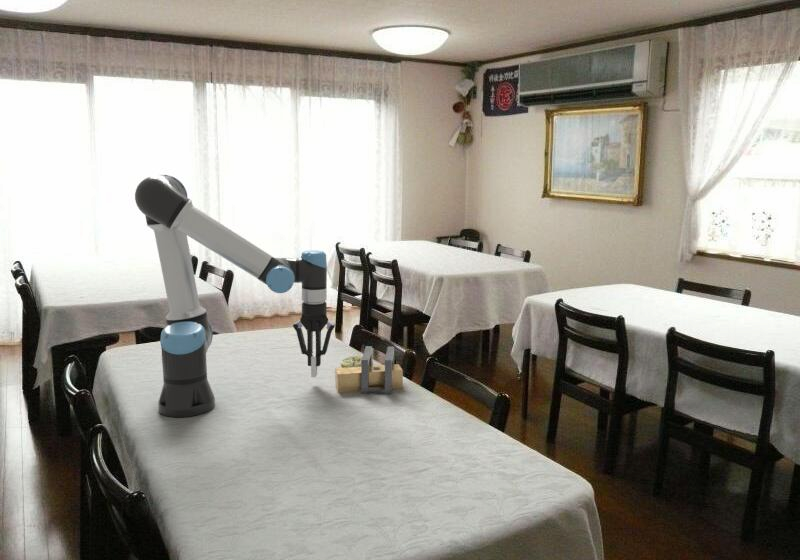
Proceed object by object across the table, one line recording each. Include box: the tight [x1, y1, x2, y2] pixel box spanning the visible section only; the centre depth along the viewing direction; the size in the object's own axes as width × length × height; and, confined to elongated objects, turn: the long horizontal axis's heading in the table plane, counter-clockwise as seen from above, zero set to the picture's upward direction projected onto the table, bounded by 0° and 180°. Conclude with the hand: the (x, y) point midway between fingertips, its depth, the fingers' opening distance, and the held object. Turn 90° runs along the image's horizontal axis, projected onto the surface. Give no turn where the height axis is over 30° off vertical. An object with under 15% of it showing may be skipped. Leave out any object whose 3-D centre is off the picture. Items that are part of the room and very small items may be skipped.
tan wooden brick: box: [334, 363, 404, 393], centre depth 201 cm, size 20×6×6 cm, turn 103°
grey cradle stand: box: [361, 345, 395, 395], centre depth 202 cm, size 14×9×10 cm, turn 178°
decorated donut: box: [340, 354, 374, 368], centre depth 219 cm, size 10×11×4 cm
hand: (314, 375), depth 203 cm, fingers closed
